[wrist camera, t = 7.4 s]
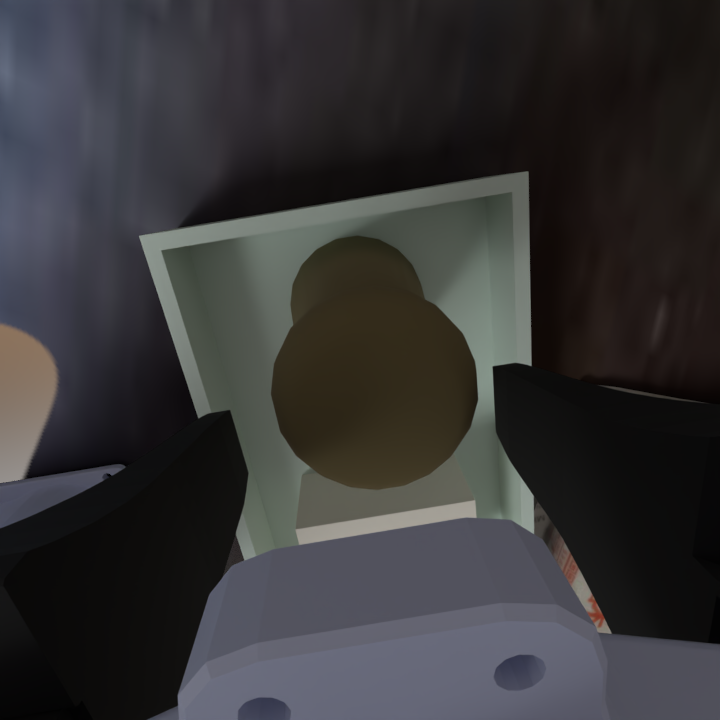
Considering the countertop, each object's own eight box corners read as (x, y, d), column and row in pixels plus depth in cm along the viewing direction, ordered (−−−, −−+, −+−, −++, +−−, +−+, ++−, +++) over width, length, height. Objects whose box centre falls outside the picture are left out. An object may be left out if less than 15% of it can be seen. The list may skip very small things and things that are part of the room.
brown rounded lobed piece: (373, 206, 18) (421, 219, 8) (447, 317, 20) (562, 442, 10) (262, 290, 19) (181, 396, 9) (343, 389, 21) (350, 569, 11)
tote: (284, 593, 27) (276, 657, 23) (176, 227, 19) (139, 235, 16) (507, 557, 27) (535, 615, 23) (490, 176, 19) (528, 171, 16)
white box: (322, 561, 25) (320, 626, 21) (301, 475, 23) (295, 529, 19) (460, 539, 25) (482, 599, 21) (452, 450, 23) (475, 500, 19)
